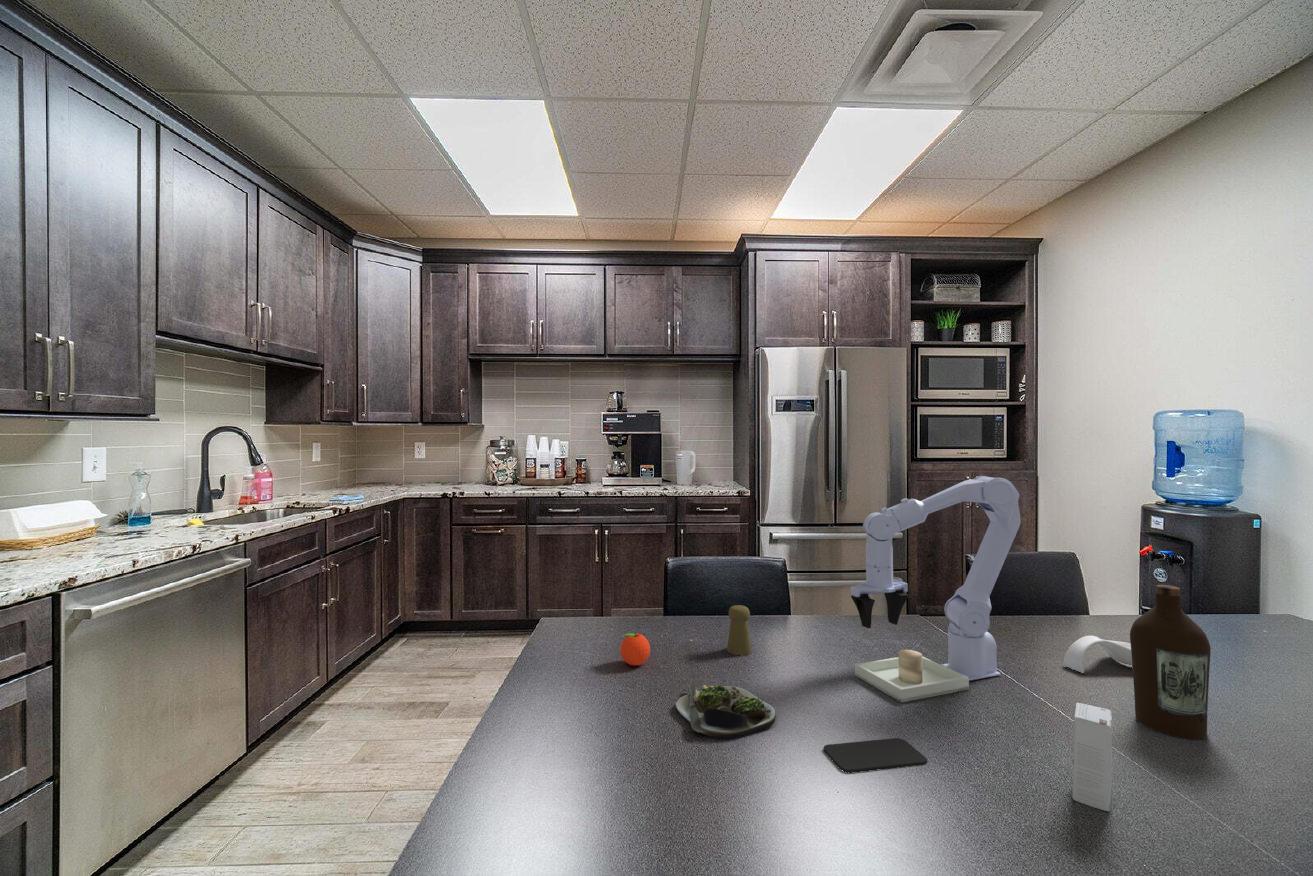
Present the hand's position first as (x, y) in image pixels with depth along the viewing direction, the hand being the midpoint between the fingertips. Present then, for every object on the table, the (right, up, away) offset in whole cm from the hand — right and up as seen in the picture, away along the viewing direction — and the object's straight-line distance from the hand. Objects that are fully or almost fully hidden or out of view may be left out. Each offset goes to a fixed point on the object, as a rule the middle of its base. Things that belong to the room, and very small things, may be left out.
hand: (879, 625), depth 125 cm
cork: (-31, -10, +9) cm, 34 cm away
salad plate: (-38, -10, -23) cm, 46 cm away
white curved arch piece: (+54, -10, 0) cm, 55 cm away
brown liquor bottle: (+41, -9, -27) cm, 50 cm away
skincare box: (+11, -9, -47) cm, 49 cm away
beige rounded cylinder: (+3, -9, -9) cm, 13 cm away
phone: (-16, -9, -37) cm, 41 cm away
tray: (+3, -9, -9) cm, 13 cm away
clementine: (-57, -10, +1) cm, 57 cm away
